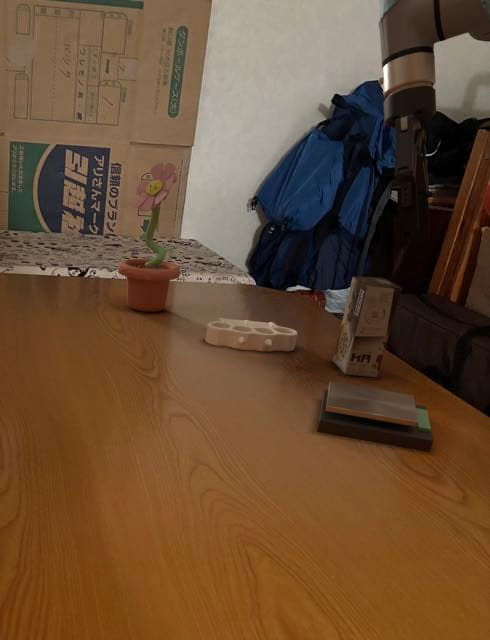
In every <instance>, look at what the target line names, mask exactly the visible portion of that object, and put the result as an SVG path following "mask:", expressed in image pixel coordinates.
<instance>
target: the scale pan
mask: <svg viewBox="0 0 490 640" xmlns="http://www.w3.org/2000/svg"><path fill="white" fill-rule="evenodd" d="M327 390H328V396H327V403H326V411H329V412H334V413H340V414H346V415H352V416H357V417H363V418H369V419H374V420H380V421H386V422H392V423H397V424H403V425H409V426H414V427H417V424H418V418H417V413H416V407H415V405H416V402H415V397H414V395H413V394H408V393H402V392H395V391H391V390H390V391H389V390H383V389H377V388H371V387H367V386H366V387H365V386H359V385H355V384H354V385H353V384H347V383H341V382H335V381H329V383H328V389H327Z"/></svg>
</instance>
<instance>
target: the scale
mask: <svg viewBox="0 0 490 640" xmlns="http://www.w3.org/2000/svg"><path fill="white" fill-rule="evenodd" d="M327 396H328V389H324V390H323V394H322V399H321V404H320V411H319V417H318V423H317V429H316V432H318V433H322V434H327V435H333V436H340V437H345V438H350V439H356V440H361V441H367V442H372V443H378V444H384V445H389V446H394V447H399V448H400V447H401V448H406V449H411V450H417V451H421V452H427V453H430V452H431V449H432V446H433V443H434V438H433V433H432V426H431V423H430V417H429V413H428V409H427V406H426V405H420V404H415V407H416V413H417V418H418V424H417V427H414V426H409V425H403V424H397V423H392V422H386V421H380V420H374V419H369V418H363V417H357V416H352V415H346V414H340V413H334V412H329V411H326V403H327Z"/></svg>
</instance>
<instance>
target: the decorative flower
mask: <svg viewBox="0 0 490 640" xmlns="http://www.w3.org/2000/svg"><path fill="white" fill-rule="evenodd" d="M176 169H177V167H176V165H175V164H174V163H172V162H167V163H165V165H164V162H159V163H157V164H155V165H153V166H152V168H150V174H151V177H152V181H151V182H150V181H146V180H141V181H140V182H139V183H138V184H137V186H136V188H135V194H136V195H140V194H141V195H140V196H138V197H136V198H135V199H134V200H133V207H134V208H136V209H139V211H140V212H143V213H146V212H149V211H150V210H151V214H150V215H151V216H150V219H149V222H148V225H147V227H146V228H147V229H146V231H145V232H143V233H142V234H141V235H140V236H139V241H143V240H144V241H145V245H146V247H147V248H148V249H150V250H151V251H152V252H154V253H156V254H157V255H156V256H155V257H153V258H129V259H125V260H122V261H120V262H119V263H118V265H117V273H118V274H120V275H122V276H123V277H126V305H127V307H128V308H129V309H131V310H133V311H137V312H138V311H139V312H145V313H146V312H147V313H154V312H160V311H162V310H164V308H165V306H166V303H167V298H168V292H169V287H170V282H171V281H173V280H176V279H179V278H180V276H181V270H180V267H179V265H177V264H175V263H173V262H170V261H167V260H164V259H165V258H166V256H167V252H172V251H175V250H176V249H178V248H179V246H174V247H171V248H167V249H166V248H165V247H164V246H162V245H161V244H159V243H157V242H156V241H154V234H155V232H157V233H159V223H160V222H159V220H160V213H161V204H162V202H163V201H165V200H166V199H167V197H168V196H169V193H170V190H171V189H172V188H173V185H174V184H175V183H177V182H178V176H177V173H176V172H175V170H176Z"/></svg>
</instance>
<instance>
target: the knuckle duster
mask: <svg viewBox="0 0 490 640" xmlns="http://www.w3.org/2000/svg"><path fill="white" fill-rule="evenodd" d="M298 334H299V333H298V331H296V330H295V329H293V328H289V327H286V326H280V325H277V324H276V323H275V322H274V321H268V322H263V321H255V320H254V321H253V320H249V319H244V320H242V319H230V318H224V317H219V318H217V320H216V321H210V322H208V323H207V326H206V334H205V337H204V338H205V339H204V340H205V342H206V343H207V344H209V345H212V346H216V347H226V348H227V347H228V348H232V349H236V350H242V351H257V352H261V353H263V352H264V353H265V352H268V353H269V352H293V351H295V348H296V344H297V341H298V340H297V339H298Z"/></svg>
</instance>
